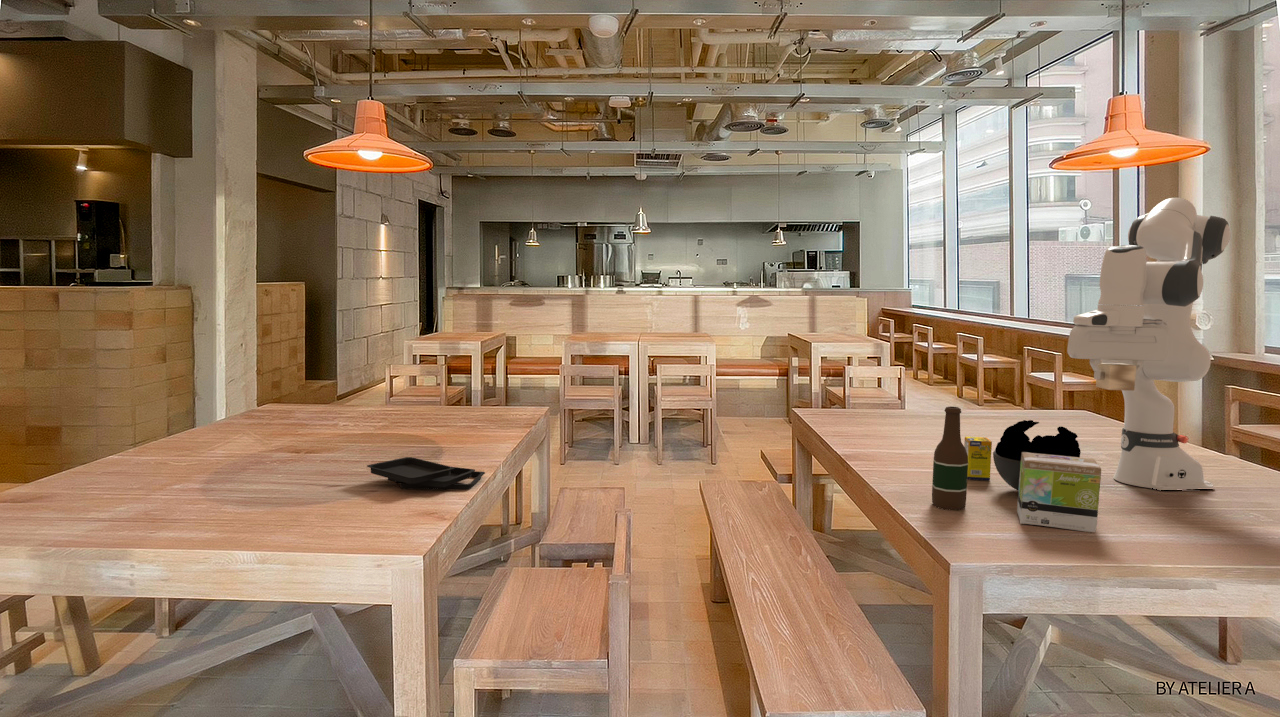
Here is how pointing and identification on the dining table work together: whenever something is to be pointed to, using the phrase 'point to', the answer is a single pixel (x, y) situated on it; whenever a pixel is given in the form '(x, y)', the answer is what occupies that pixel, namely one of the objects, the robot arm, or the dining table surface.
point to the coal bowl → (1030, 448)
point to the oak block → (1117, 376)
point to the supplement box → (978, 457)
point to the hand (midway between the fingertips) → (1115, 379)
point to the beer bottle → (950, 465)
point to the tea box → (1059, 491)
